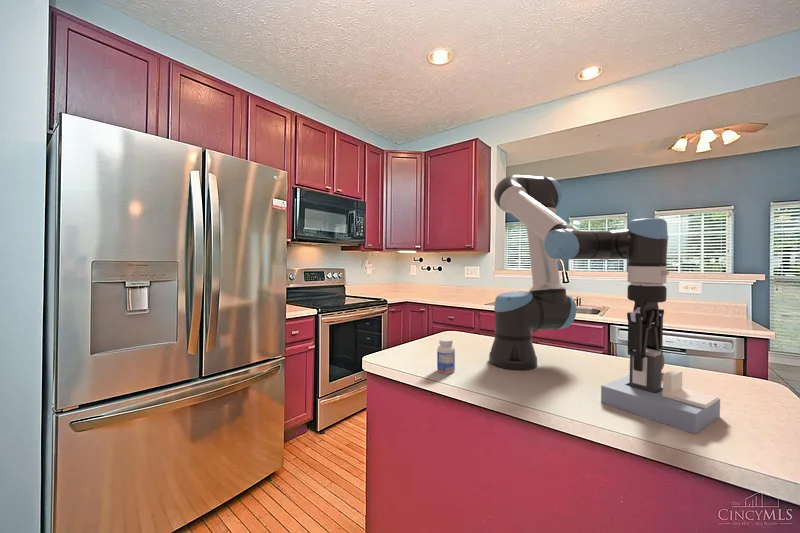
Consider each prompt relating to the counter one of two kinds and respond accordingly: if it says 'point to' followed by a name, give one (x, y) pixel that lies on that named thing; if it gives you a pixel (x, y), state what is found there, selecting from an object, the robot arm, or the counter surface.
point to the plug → (650, 371)
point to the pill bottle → (446, 356)
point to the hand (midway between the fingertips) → (644, 381)
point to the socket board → (658, 406)
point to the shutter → (684, 391)
